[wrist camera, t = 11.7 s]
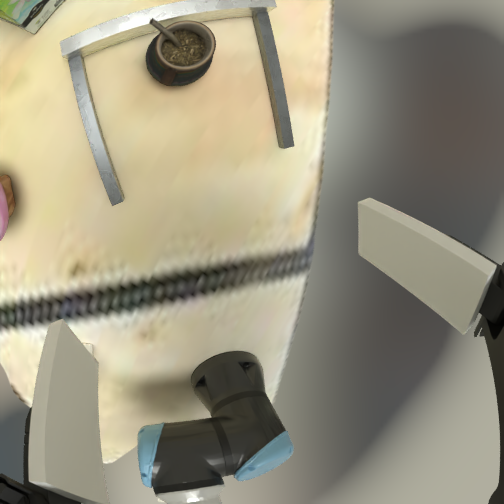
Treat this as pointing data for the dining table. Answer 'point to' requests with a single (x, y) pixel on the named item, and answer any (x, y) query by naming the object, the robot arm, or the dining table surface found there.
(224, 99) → the dining table surface
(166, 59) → the mate gourd
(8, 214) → the cupcake
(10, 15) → the tea box
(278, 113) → the u-shaped bar frame
